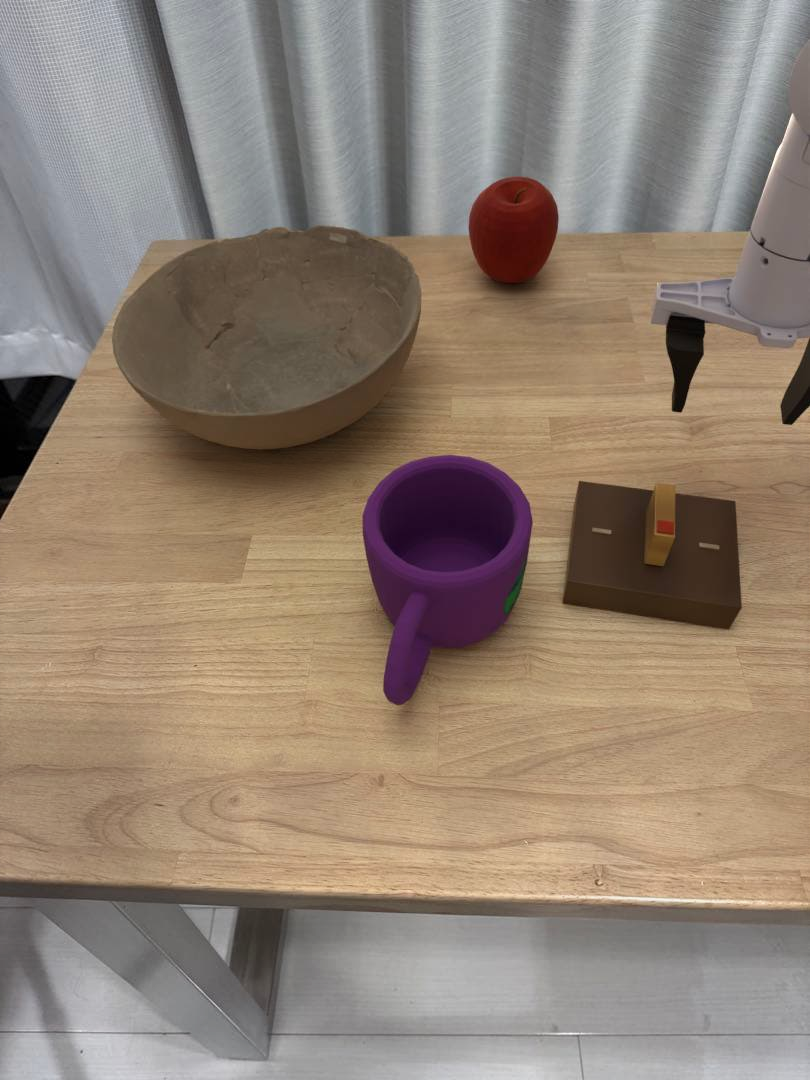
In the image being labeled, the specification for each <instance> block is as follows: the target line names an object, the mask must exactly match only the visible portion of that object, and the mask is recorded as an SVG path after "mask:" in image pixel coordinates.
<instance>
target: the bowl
mask: <svg viewBox="0 0 810 1080" xmlns="http://www.w3.org/2000/svg"><path fill="white" fill-rule="evenodd" d="M421 313H422V290H421V283H420V278H419V275H418V274H417V272H416V269H415V267H414V265H413V263H412V262H411V260H409V258H408V256H407V255H405V254H404V253H403V252H401V251H400V249H398V248H396V247H395V246H394V245H393V244H391V243H388V242H384V241H383V242H382V241H379V239H377V238H375V237H373V236H367V235H366V234H365V233H363V232H362V231H359V230H357V229H351V228H347V227H344V226H343V227H341V226H333V225H324V224H316V225H313V226H310V227H308V228H307V229H306V230H292V231H290V230H289V229H288V228H287V227H283V226H280V225H279V226H275V227H272V228H270V229H269V228H264V229H261V230H260V231H258V232H257V233H252V234H250V235H246V236H241V237H234V238H230V239H229V238H225V239H222V240H215V241H211V242H209V243H206V244H202V245H199V246H197V247H194V248H191V249H190V250H188V251H185V252H184V253H181V254H180V255H178V256H176V257H174V258H172V259H171V260H169V261H167V262H166V263H164V264H163V265H162V266H161V267H159V268H158V269H157V270H155V271H154V272H153V273H152V274H150V275H149V277H147V278H146V279H145V280H144V281H143V282H142V283H141V284H140V285H139V286H138V288H137V289H135V291H133V293H132V294H131V295H129V297H127V298H126V300H125V301H124V303H123V304H122V306H121V308H120V310H119V312H118V314H117V316H116V318H115V321H114V324H113V328H112V336H111V344H112V352H113V357H114V358H115V361H116V364H117V367H118V368H119V371H120V372H121V374H122V376H123V377H124V378H125V380H126V381H127V382H128V384H129V385H130V386H131V388H132V389H133V390H134V391H135V392H136V393H137V394H138V395H139V396H140V397H141V398H142V399H143V400H144V401H145V402H146V403H147V404H148V405H150V406H151V407H152V408H153V409H154V410H155V411H156V412H157V413H158V414H160V415H161V416H162V417H163V418H165V419H166V420H168V421H169V422H171V423H172V424H173V425H175V426H176V427H178V428H179V429H181V430H184V431H186V432H187V433H190V434H192V435H194V436H196V437H197V438H200V439H203V440H205V441H208V442H212V443H215V444H219V445H223V446H226V447H231V448H240V449H246V450H273V449H287V448H291V447H297V446H301V445H306V444H310V443H312V442H315V441H318V440H321V439H323V438H326V437H328V436H331V435H333V434H335V433H337V432H339V431H341V430H342V429H344V428H346V427H348V426H350V425H352V424H354V423H356V422H357V421H358V420H359V419H361V418H363V417H364V416H366V414H368V413H369V412H370V411H371V410H372V409H373V408H374V407H375V406H377V405H378V403H379V402H381V400H382V399H383V398H384V397H385V395H386V394H387V393H388V392H389V391H390V389H391V388H392V386H394V384H395V383H396V381H397V379H398V378H399V376H400V375H401V373H402V371H403V369H404V367H405V365H406V363H407V361H408V360H409V359H408V358H409V356H410V354H411V351H412V350H413V349H412V348H413V346H414V342H415V340H416V335H417V332H418V329H419V324H420V320H421V319H420V318H421Z"/></svg>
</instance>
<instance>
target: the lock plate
mask: <svg viewBox="0 0 810 1080" xmlns="http://www.w3.org/2000/svg"><path fill="white" fill-rule="evenodd" d="M653 491H654V489H647V488H646V489H645V488H639V487H631V486H625V485H624V486H623V485H615V484H607V483H599V482H593V481H585V480H578V482H577V487H576V492H575V498H574V503H573V509H572V519H571V527H570V536H569V545H568V551H567V552H568V553H567V561H566V570H565V578H564V587H563V596H562V604H566V605H573V606H579V607H585V608H592V609H597V610H604V611H610V612H617V613H622V614H630V615H635V616H642V617H647V618H653V619H660V620H667V621H672V622H673V621H674V622H679V623H684V624H692V625H697V626H704V627H711V628H716V629H722V630H730V629H731V627H732V625H733V624H734V622H735V620H736V618H737V617H738V615H739V613H740V612H741V610H742V608H743V607H742V589H741V586H742V585H741V572H740V571H741V570H740V555H739V538H738V537H739V536H738V522H737V521H738V520H737V503H736V500H730V499H723V498H717V497H716V498H715V497H707V496H701V495H693V494H684V493H678V492H675V539H674V541H673V544H672V546H671V549H670V551H669V554H668V556H667V559H666V561H665V564H664V566H657V565H650V564H645V563H644V554H645V530H646V512H647V509H648V506H649V503H650V500H651V497H652V494H653Z"/></svg>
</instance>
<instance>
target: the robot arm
mask: <svg viewBox="0 0 810 1080" xmlns="http://www.w3.org/2000/svg"><path fill="white" fill-rule="evenodd" d="M788 100H789V101H788V103H789V106H790V110H791V116H790V118H789V121H788V124H787V127H786V130H785V132H784V136H783V139H782V142H781V143H780V145H779V147H778V148H777V150H776V153H775V156H774V158H773V162H772V165H771V167H770V171H769V173H768V176H767V179H766V182H765V185H764V187H763V191H762V194H761V196H760V199H759V202H758V205H757V207H756V211H755V214H754V216H753V219H752V222H751V225H750V229H749V231H748V235H747V238H746V240H745V243H744V246H743V249H742V252H741V255H740V257H739V261H738V263H737V266H736V269H735V272H734V275H733V276H728V277H721V278H712V279H703V280H694V281H686V282H685V281H684V282H661V281H659V282H657V283H656V286H655V291H654V295H653V299H652V303H651V308H650V324H652V325H658V326H659V325H660V326H665V347H666V351H667V352H666V353H667V357H668V358H669V359H668V360H669V361H670V362H669V363H670V365H671V370H672V376H673V387H672V392H671V411H672V413H682V412H683V410H684V408H685V406H686V402H687V398H688V394H689V391H690V386H691V383H692V380H693V378H694V375H695V373H696V371H697V368H698V366H699V364H700V362H701V361H702V358H703V357H704V355H705V347H704V346H705V344H704V343H705V341H704V338H705V335H706V332H707V331H706V324H711V325H719V326H722V327H725V328H728V329H731V330H736V331H739V332H742V333H745V334H749V335H751V336H756V337H757V342H758V343H759V345H762V347H766V348H767V347H768V348H775V349H776V348H778V349H791V348H793V347H794V346H795V344H796V341H797V339H805V338H806V339H807V338H809V339H808V341H807V344H806V347H805V350H804V352H803V355H802V357H801V360H800V362H799V365H798V366H797V368H796V371H795V372H794V374H793V376H792V378H791V380H790V382H789V383H788V386H787V388H786V390H785V392H784V394H783V397H782V399H781V401H780V405H779V406H780V413H781V422H782V423H781V424H782V425H787V426H792V425H793V424H795V422H796V421H797V420H798V419H799V418H800V417H801V416H802V414H804V413H805V412H806V410H808V408H810V38H809V39H808V41H806V43H805V44H804V45H803V47H802V49H801V50H800V52H799V54H798V56H797V57H796V59H795V61H794V63H793V66H792V69H791V72H790V76H789V82H788Z"/></svg>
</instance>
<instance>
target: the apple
mask: <svg viewBox="0 0 810 1080" xmlns="http://www.w3.org/2000/svg"><path fill="white" fill-rule="evenodd" d="M559 217H560V215H559V209H558V204H557V202H556V200H555V198H554V196H553V193H551V191H550V190H549V189H548V188H547V187H546V186H544V185H543V183H541V182H540V181H538V180H536V179H534V178H530V177H527V176H510V177H509V176H508V177H504V178H502V179H498V180H497V181H495V182H493V183H491V184H490V185H489V186H487V187H486V188H485V189H483V190H482V191H481V192H479V194H478V195H477V197H476V198H475V200H474V202H473V204H472V205H471V209H470V212H469V216H468V226H467V227H468V237H469V241H470V246H471V251H472V253H473V256H474V260H475V261H476V263H477V265H478V266H479V268H480V269H481V270H482V272H483V273H484V274H485V275H486V276H487V277H489V278H490V279H492V280H494V281H496V282H499V283H504V284H521V283H524V282H527V281H529V280H531V279H533V278H534V277H536V276H537V275H538V273H540V271H541V270H542V269H543V268H544V267H545V265H546V263H547V261H548V259H549V257H550V255H551V253H552V250H553V247H554V245H555V242H556V239H557V234H558V231H559V222H560V221H559V219H560V218H559Z"/></svg>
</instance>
